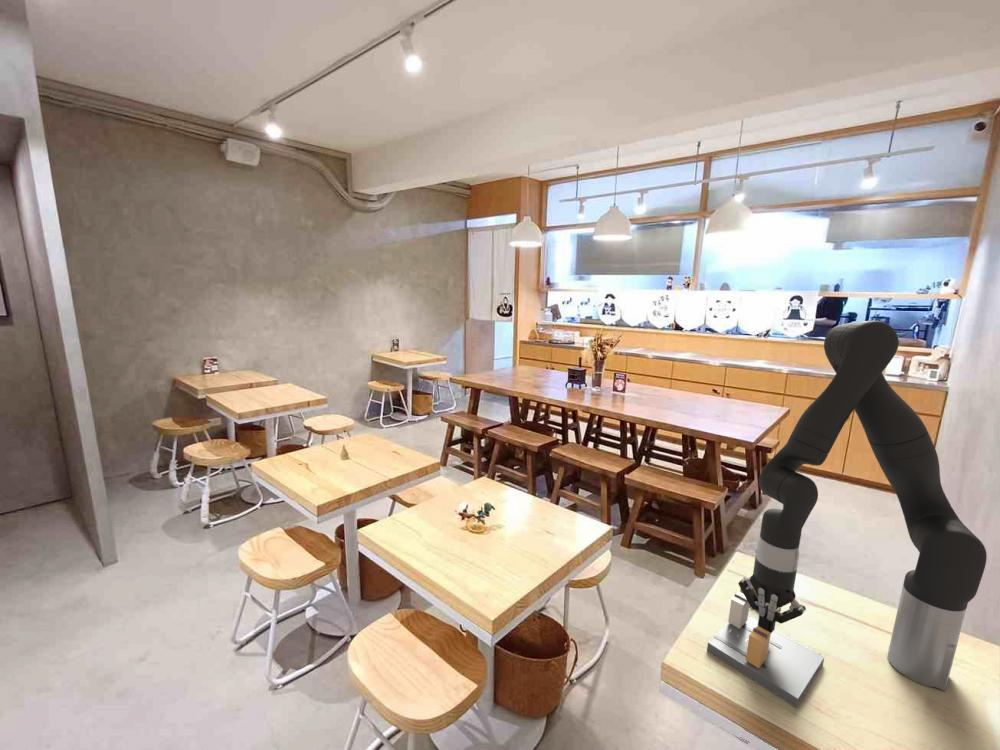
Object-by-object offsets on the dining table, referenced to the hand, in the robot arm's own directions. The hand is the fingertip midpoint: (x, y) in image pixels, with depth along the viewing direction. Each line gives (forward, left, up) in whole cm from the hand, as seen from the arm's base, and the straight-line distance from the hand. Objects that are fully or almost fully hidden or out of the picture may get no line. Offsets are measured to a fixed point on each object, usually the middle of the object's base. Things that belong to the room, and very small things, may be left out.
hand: (765, 631), depth 97 cm
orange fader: (-1, +8, -1) cm, 8 cm away
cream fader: (+6, 0, -1) cm, 6 cm away
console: (-1, +3, -4) cm, 5 cm away
